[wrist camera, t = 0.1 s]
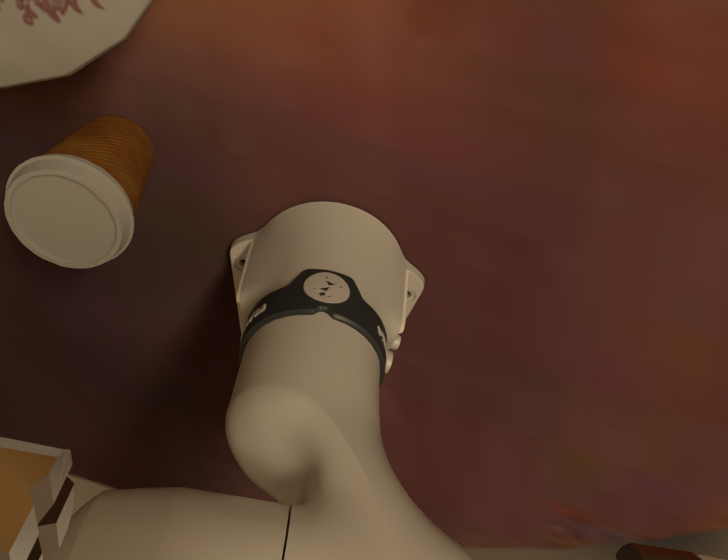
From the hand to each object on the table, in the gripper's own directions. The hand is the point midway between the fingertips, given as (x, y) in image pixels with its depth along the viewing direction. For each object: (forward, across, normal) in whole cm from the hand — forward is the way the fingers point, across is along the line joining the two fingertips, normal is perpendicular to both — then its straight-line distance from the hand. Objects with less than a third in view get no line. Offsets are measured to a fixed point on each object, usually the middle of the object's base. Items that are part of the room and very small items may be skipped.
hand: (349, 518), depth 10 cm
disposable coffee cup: (+48, -20, -23) cm, 57 cm away
